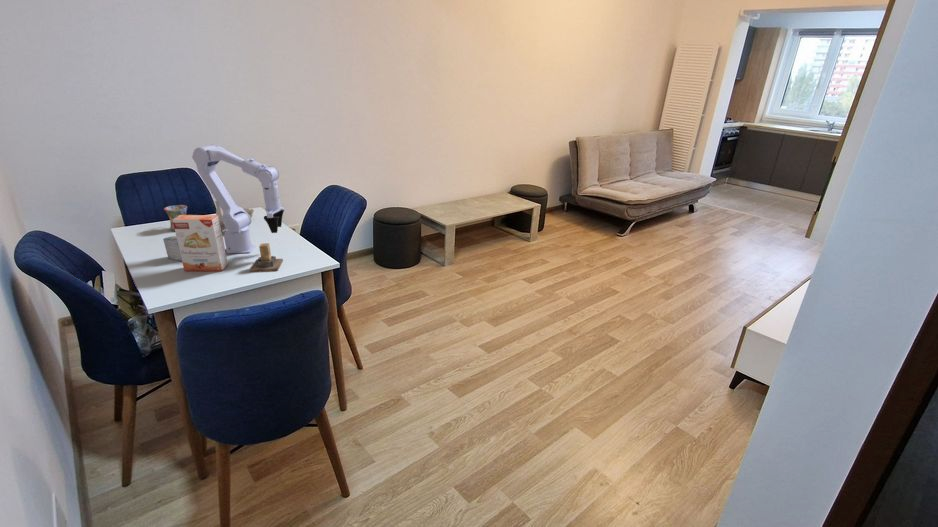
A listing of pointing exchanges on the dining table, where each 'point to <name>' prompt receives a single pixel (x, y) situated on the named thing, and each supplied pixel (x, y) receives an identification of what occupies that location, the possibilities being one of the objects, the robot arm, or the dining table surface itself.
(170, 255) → the medicine box
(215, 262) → the cracker box
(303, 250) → the dining table surface
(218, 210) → the chinaware
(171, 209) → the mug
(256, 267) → the clip stand
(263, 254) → the wick block
